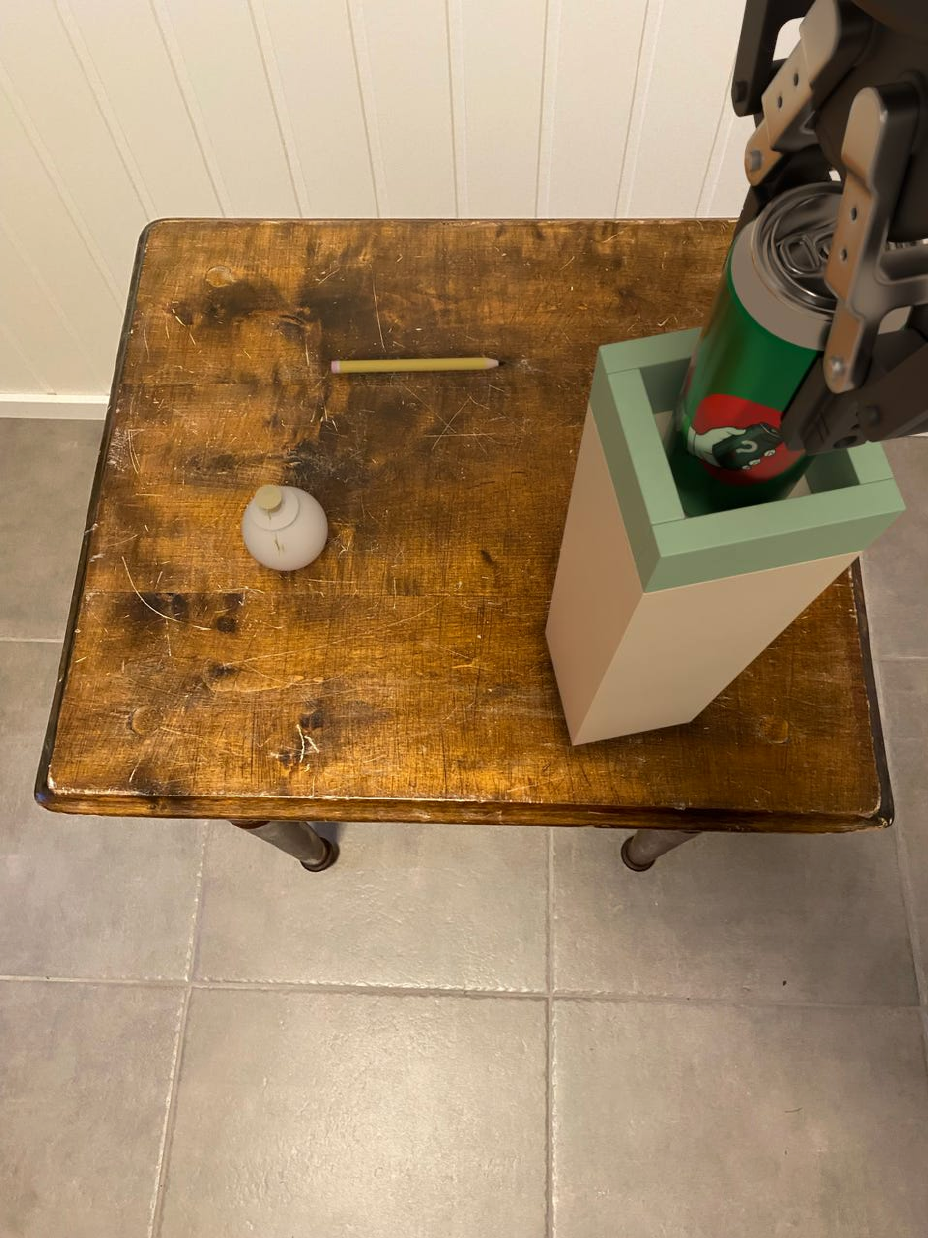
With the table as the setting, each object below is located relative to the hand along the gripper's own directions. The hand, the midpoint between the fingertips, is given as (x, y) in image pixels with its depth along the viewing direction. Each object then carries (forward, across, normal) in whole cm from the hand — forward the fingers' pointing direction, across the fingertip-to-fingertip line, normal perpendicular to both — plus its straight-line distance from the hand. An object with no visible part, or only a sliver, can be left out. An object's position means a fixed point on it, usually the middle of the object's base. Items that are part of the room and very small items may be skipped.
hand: (784, 353), depth 27 cm
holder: (+37, 0, 0) cm, 37 cm away
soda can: (+8, 0, 0) cm, 8 cm away
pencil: (+38, +28, +9) cm, 48 cm away
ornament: (+38, +14, +21) cm, 45 cm away
